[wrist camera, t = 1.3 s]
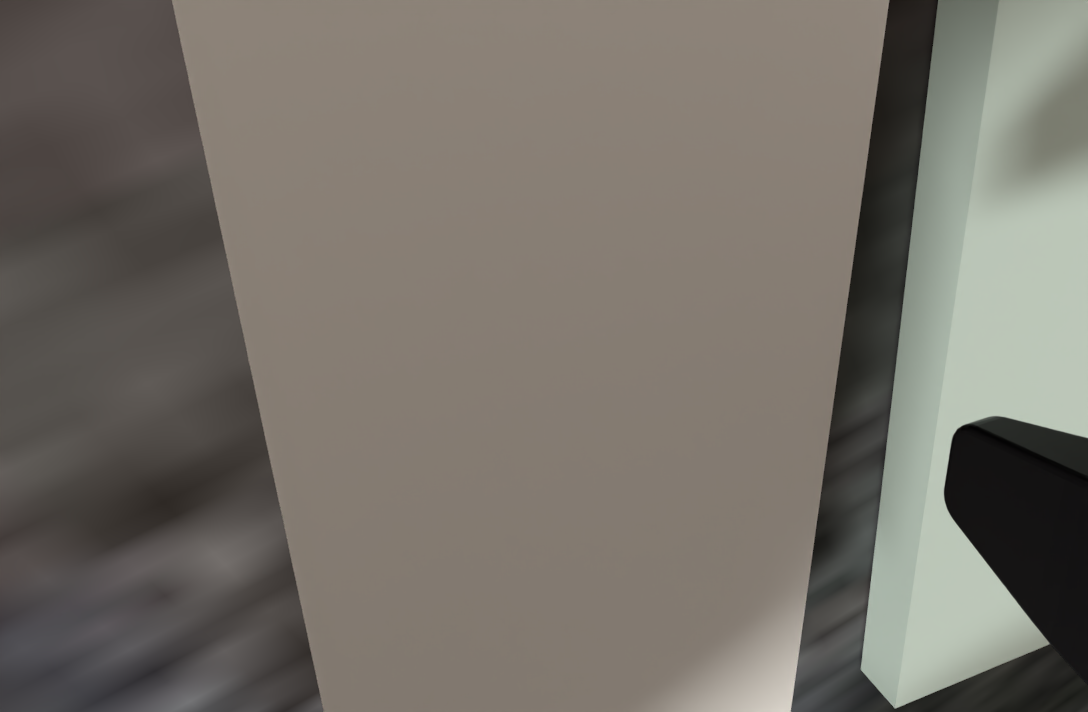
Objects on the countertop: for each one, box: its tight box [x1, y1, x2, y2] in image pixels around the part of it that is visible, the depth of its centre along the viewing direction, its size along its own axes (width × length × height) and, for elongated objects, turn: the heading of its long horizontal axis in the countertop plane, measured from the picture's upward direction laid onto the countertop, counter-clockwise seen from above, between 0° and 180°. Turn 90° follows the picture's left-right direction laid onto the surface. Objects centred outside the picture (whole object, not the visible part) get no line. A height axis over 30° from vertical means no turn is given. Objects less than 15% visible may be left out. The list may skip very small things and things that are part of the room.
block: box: [172, 0, 889, 712], centre depth 9 cm, size 16×4×6 cm, turn 2°
